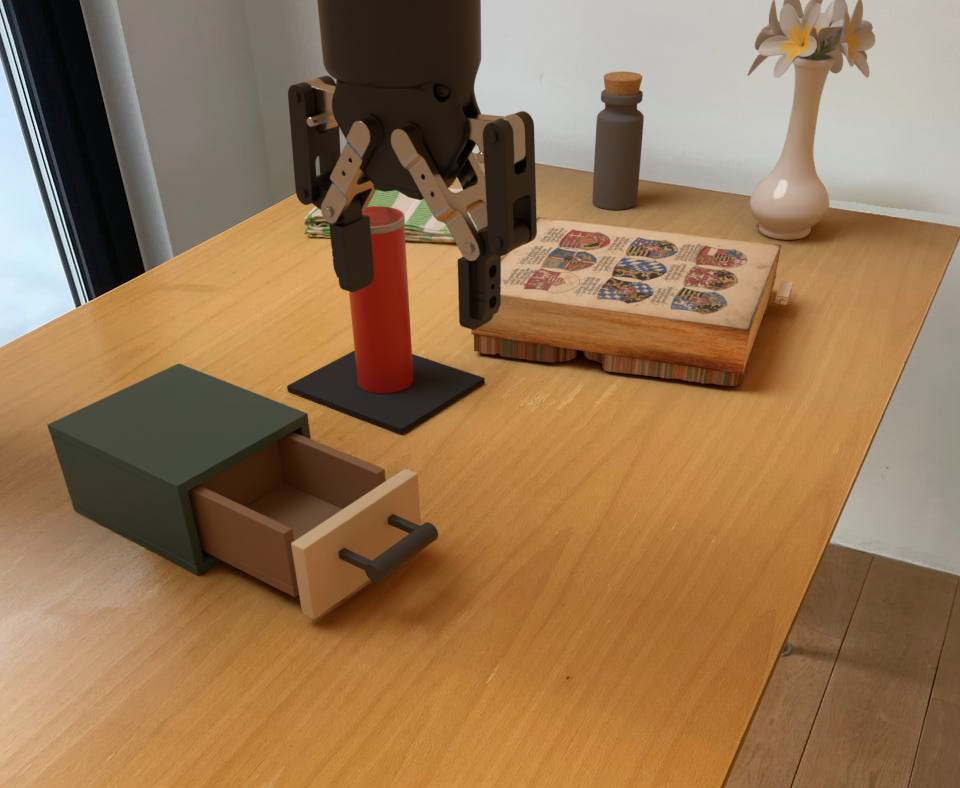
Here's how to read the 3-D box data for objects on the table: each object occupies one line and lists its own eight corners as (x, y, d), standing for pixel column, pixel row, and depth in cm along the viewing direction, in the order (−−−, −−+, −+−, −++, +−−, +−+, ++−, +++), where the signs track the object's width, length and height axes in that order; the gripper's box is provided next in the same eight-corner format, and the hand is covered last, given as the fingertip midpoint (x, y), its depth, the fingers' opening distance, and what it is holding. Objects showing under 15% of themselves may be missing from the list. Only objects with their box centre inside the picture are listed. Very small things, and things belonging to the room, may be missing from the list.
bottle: (583, 200, 138) (589, 73, 128) (621, 193, 140) (629, 67, 130) (607, 213, 134) (616, 83, 124) (645, 205, 136) (656, 77, 126)
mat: (287, 391, 97) (286, 385, 97) (373, 346, 105) (372, 340, 104) (401, 435, 91) (401, 429, 90) (484, 383, 98) (484, 377, 98)
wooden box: (791, 297, 113) (543, 265, 120) (803, 237, 109) (545, 208, 116) (759, 399, 95) (471, 355, 103) (771, 333, 91) (470, 292, 98)
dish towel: (491, 248, 125) (490, 225, 123) (302, 239, 128) (299, 216, 126) (511, 199, 138) (511, 178, 136) (340, 193, 141) (338, 171, 139)
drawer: (464, 559, 75) (462, 490, 71) (357, 642, 68) (349, 570, 65) (291, 483, 83) (281, 418, 79) (181, 551, 76) (164, 483, 73)
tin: (351, 393, 96) (334, 226, 86) (363, 367, 100) (348, 205, 90) (408, 395, 95) (398, 228, 85) (418, 369, 99) (409, 206, 89)
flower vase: (833, 208, 134) (879, -20, 118) (837, 260, 120) (889, 10, 104) (730, 202, 136) (761, -23, 120) (722, 252, 123) (756, 7, 106)
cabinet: (319, 499, 83) (307, 413, 78) (198, 576, 76) (177, 486, 71) (196, 445, 90) (178, 362, 85) (74, 510, 82) (46, 424, 77)
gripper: (225, -46, 48) (274, 297, 58) (472, -19, 41) (478, 363, 52) (337, -65, 52) (364, 257, 63) (575, -43, 46) (561, 313, 56)
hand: (415, 305), depth 57 cm, fingers open, 8 cm apart
